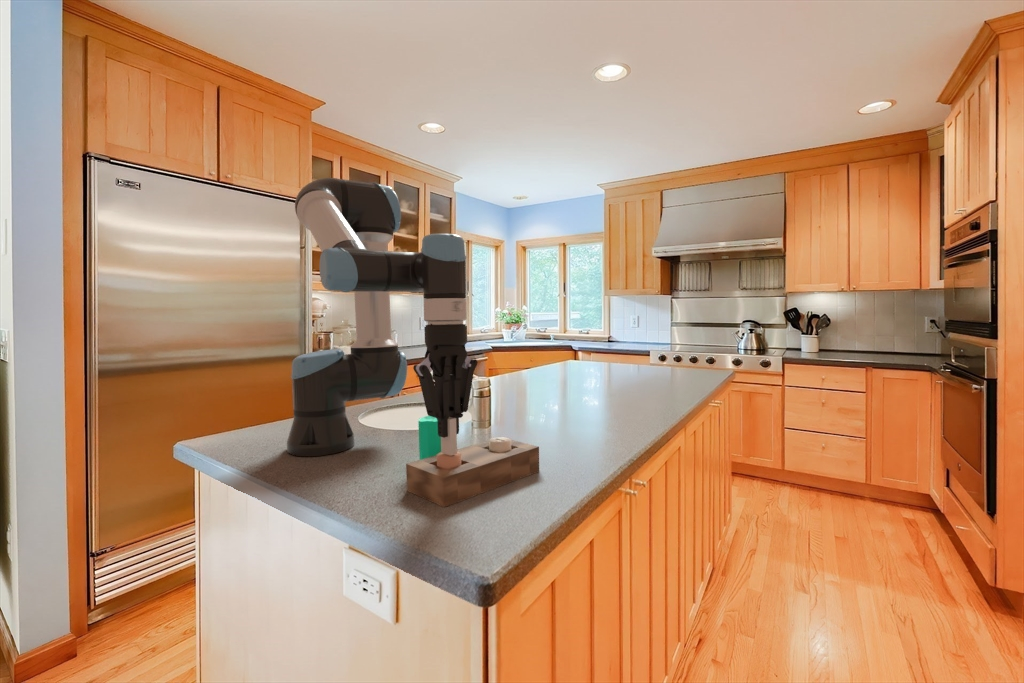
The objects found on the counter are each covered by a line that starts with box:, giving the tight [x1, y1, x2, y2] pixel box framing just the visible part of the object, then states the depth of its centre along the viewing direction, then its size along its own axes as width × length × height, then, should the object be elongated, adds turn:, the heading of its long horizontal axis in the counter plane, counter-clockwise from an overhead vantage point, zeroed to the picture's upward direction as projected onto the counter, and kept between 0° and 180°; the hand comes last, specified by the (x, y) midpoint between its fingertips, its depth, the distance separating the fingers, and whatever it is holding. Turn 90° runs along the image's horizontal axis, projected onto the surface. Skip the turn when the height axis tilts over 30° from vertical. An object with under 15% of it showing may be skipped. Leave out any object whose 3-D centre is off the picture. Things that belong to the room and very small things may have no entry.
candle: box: [417, 415, 441, 460], centre depth 100 cm, size 6×6×12 cm
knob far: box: [488, 436, 512, 453], centre depth 97 cm, size 4×4×6 cm
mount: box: [405, 439, 540, 508], centre depth 93 cm, size 11×24×5 cm, turn 136°
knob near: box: [437, 452, 461, 470], centre depth 88 cm, size 4×4×6 cm
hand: (449, 453), depth 88 cm, fingers closed
